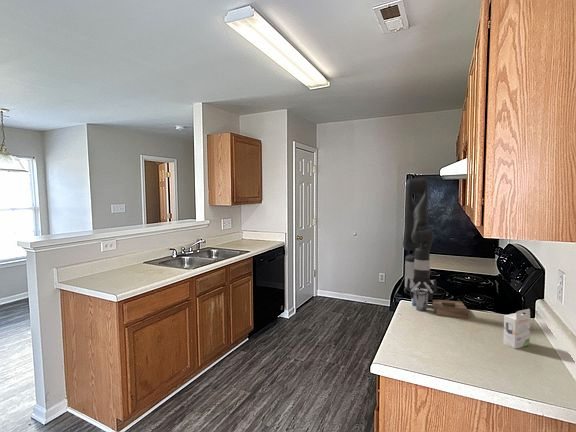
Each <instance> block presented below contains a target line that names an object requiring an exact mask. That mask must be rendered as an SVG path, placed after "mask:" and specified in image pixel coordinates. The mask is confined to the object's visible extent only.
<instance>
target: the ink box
mask: <svg viewBox="0 0 576 432" xmlns="http://www.w3.org/2000/svg"><path fill="white" fill-rule="evenodd" d="M530 336H531V309H530V308H527V309H522V310H518V311H516V312H515V313H509V314H505V315H503V345H505V346H508V347H510V348H512V349H514V350H515V349H520V348H523V347H524V348H525V347H526V346H527V345H528V346H530V343H531V342H530V340H531V339H530V338H531V337H530Z"/></svg>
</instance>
